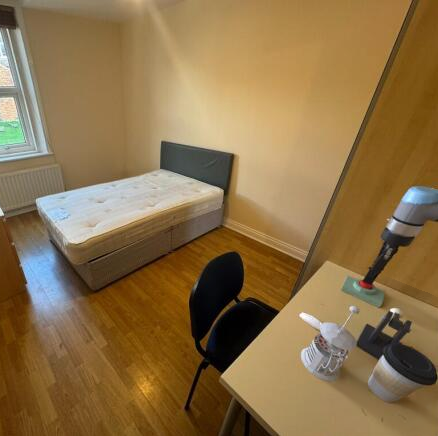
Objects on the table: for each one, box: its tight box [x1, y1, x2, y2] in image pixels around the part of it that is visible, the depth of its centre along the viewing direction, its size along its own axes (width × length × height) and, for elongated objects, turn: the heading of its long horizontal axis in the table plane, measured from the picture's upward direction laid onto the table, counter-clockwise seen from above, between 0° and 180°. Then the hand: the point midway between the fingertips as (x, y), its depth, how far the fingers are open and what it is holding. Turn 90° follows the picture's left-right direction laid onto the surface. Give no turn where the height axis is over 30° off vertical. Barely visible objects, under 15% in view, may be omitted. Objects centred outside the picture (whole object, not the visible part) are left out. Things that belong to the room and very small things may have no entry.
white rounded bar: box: [299, 312, 324, 331], centre depth 80 cm, size 3×8×3 cm, turn 36°
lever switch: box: [387, 307, 405, 332], centre depth 72 cm, size 15×3×3 cm, turn 128°
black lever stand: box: [356, 310, 413, 361], centre depth 70 cm, size 11×9×13 cm
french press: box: [300, 305, 360, 382], centre depth 62 cm, size 10×12×25 cm
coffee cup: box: [367, 343, 438, 404], centre depth 59 cm, size 9×9×15 cm
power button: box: [360, 279, 374, 289], centre depth 90 cm, size 4×4×2 cm
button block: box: [340, 275, 386, 309], centre depth 91 cm, size 12×9×4 cm
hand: (367, 282), depth 90 cm, fingers closed
